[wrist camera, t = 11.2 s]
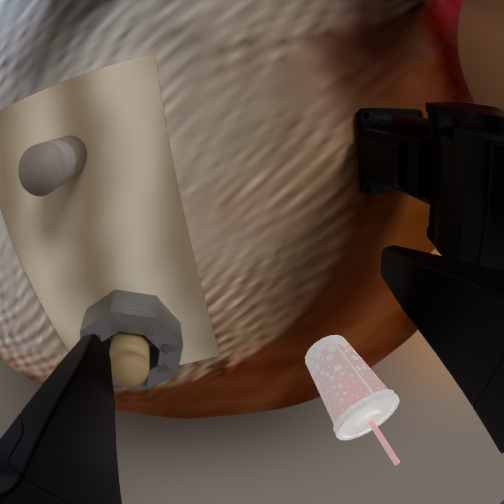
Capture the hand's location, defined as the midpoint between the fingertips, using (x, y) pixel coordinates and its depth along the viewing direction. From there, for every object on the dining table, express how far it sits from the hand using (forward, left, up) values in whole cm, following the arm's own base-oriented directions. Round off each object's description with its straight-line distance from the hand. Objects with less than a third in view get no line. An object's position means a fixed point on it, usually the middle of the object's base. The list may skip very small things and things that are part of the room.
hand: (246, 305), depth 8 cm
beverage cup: (-9, +18, -12) cm, 23 cm away
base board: (+7, +2, -12) cm, 14 cm away
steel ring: (+7, +8, -11) cm, 15 cm away
